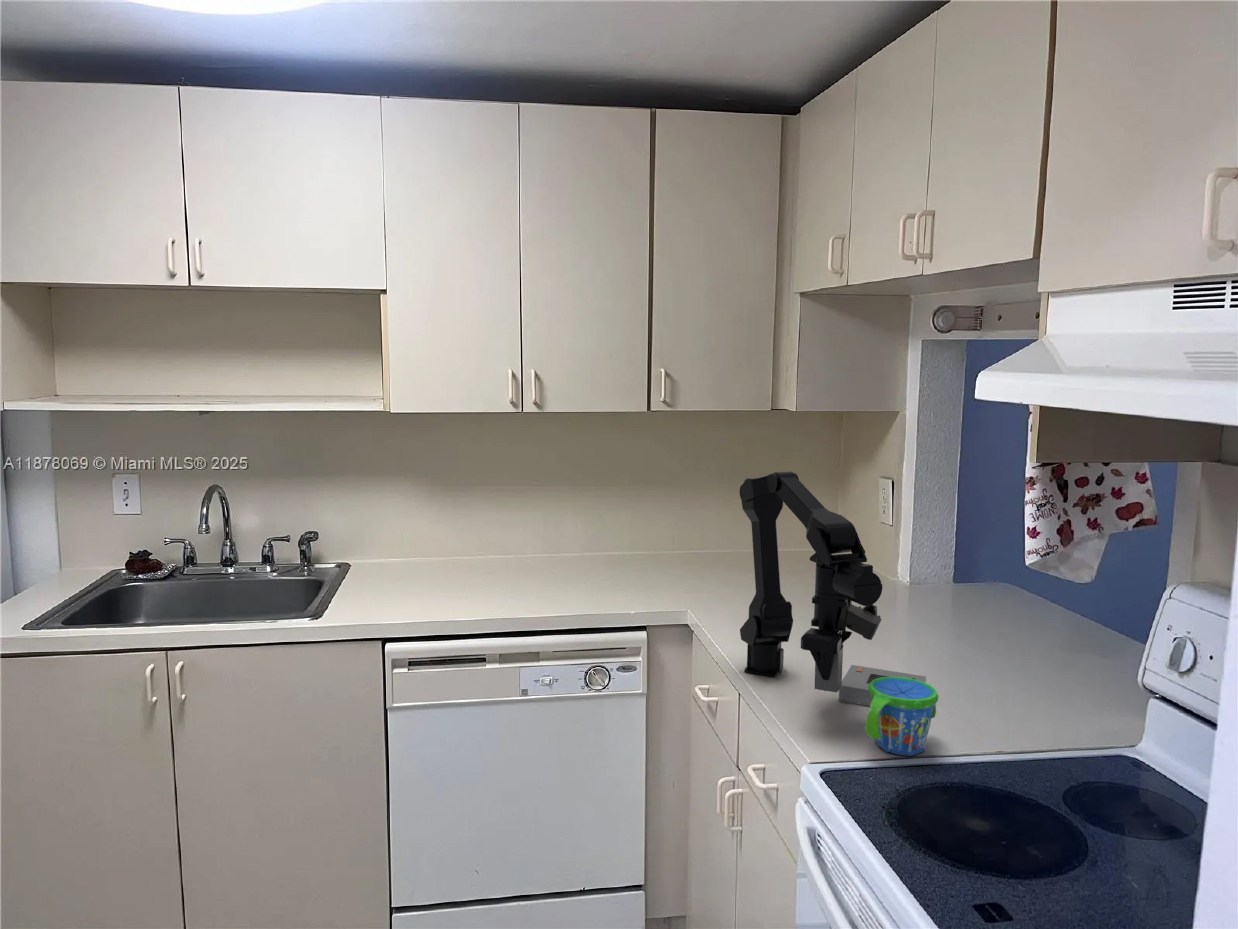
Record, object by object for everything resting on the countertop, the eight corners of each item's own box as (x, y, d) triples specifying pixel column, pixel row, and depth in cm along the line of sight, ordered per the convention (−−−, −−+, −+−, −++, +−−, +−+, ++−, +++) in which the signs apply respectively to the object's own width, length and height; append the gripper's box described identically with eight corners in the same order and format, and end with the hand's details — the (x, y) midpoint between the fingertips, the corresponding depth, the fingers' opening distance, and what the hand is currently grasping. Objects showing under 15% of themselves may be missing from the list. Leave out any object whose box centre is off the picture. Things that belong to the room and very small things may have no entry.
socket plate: (838, 700, 158) (839, 684, 157) (851, 679, 169) (851, 664, 168) (917, 714, 152) (918, 698, 151) (925, 691, 162) (926, 676, 162)
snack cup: (908, 725, 147) (911, 669, 146) (959, 749, 138) (962, 689, 137) (841, 744, 140) (844, 685, 138) (890, 771, 130) (893, 708, 129)
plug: (814, 688, 151) (816, 639, 150) (819, 681, 155) (821, 632, 154) (837, 692, 150) (838, 642, 148) (841, 685, 153) (843, 635, 152)
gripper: (869, 610, 138) (865, 702, 140) (886, 584, 155) (883, 666, 157) (801, 601, 143) (798, 690, 145) (825, 577, 160) (822, 657, 162)
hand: (828, 675), depth 152 cm, fingers closed on plug, 4 cm apart
